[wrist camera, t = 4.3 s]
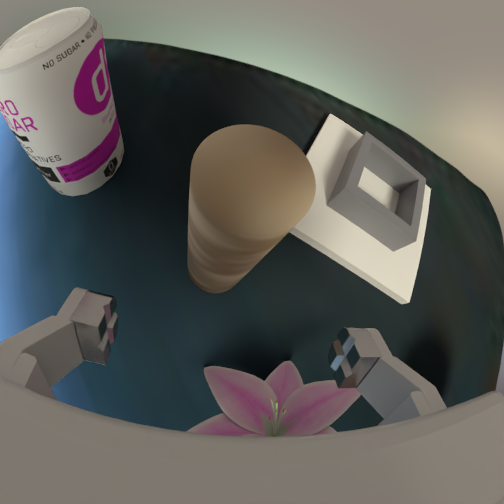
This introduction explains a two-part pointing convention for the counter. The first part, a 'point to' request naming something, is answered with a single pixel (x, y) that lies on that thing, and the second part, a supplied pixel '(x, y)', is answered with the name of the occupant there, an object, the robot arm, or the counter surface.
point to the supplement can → (62, 100)
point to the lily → (273, 403)
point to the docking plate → (366, 208)
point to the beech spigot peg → (243, 201)
